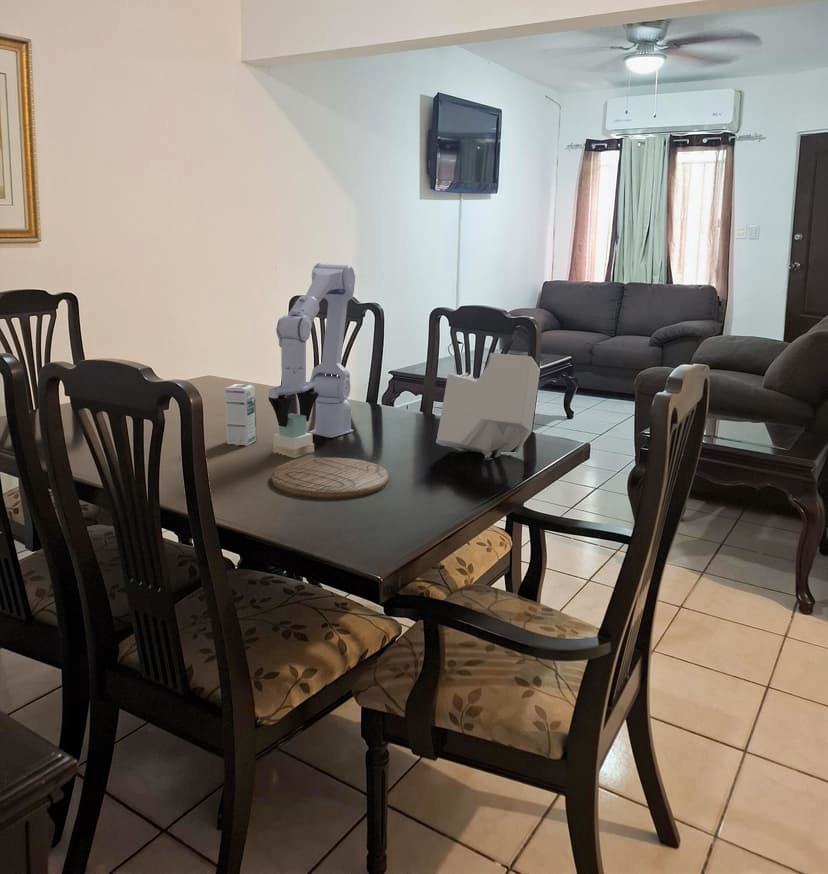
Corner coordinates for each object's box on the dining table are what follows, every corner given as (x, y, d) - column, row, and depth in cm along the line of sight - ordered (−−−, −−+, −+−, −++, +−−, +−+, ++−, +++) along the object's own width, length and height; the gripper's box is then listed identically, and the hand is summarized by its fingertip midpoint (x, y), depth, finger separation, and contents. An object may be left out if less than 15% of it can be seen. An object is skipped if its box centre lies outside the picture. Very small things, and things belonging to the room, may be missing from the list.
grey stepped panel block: (430, 453, 183) (445, 348, 185) (446, 459, 198) (460, 362, 200) (516, 464, 177) (531, 356, 179) (526, 469, 192) (540, 370, 194)
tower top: (291, 439, 193) (291, 429, 192) (312, 443, 190) (312, 433, 189) (274, 444, 188) (273, 434, 187) (294, 449, 184) (294, 439, 184)
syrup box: (247, 446, 193) (246, 388, 189) (225, 444, 194) (224, 386, 191) (257, 440, 198) (256, 384, 195) (235, 438, 200) (233, 382, 196)
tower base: (292, 448, 194) (292, 438, 194) (314, 453, 190) (314, 443, 190) (273, 454, 189) (272, 444, 188) (294, 459, 185) (294, 449, 184)
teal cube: (292, 431, 191) (292, 413, 190) (306, 434, 189) (306, 415, 188) (279, 434, 187) (279, 416, 186) (293, 437, 185) (293, 419, 184)
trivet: (319, 459, 186) (319, 451, 185) (409, 478, 173) (410, 470, 173) (246, 485, 165) (246, 476, 164) (343, 509, 152) (343, 499, 152)
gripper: (284, 372, 176) (284, 431, 179) (326, 365, 188) (326, 420, 191) (262, 369, 180) (262, 426, 183) (305, 362, 192) (305, 416, 195)
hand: (293, 423), depth 187 cm, fingers open, 7 cm apart
